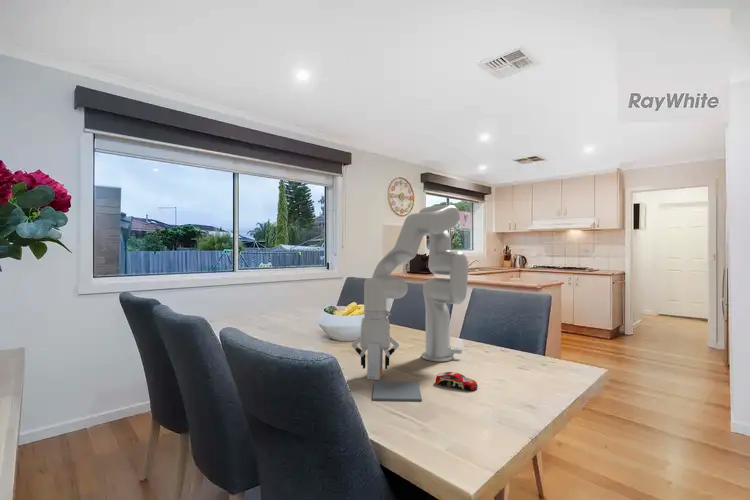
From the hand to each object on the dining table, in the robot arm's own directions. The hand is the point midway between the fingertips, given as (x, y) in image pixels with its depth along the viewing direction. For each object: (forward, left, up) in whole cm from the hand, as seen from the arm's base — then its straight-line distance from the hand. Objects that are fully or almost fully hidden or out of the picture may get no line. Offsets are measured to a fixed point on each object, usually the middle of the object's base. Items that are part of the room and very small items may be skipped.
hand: (375, 367), depth 129 cm
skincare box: (0, 0, -4) cm, 4 cm away
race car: (-26, +7, -4) cm, 27 cm away
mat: (-7, +13, -3) cm, 15 cm away
